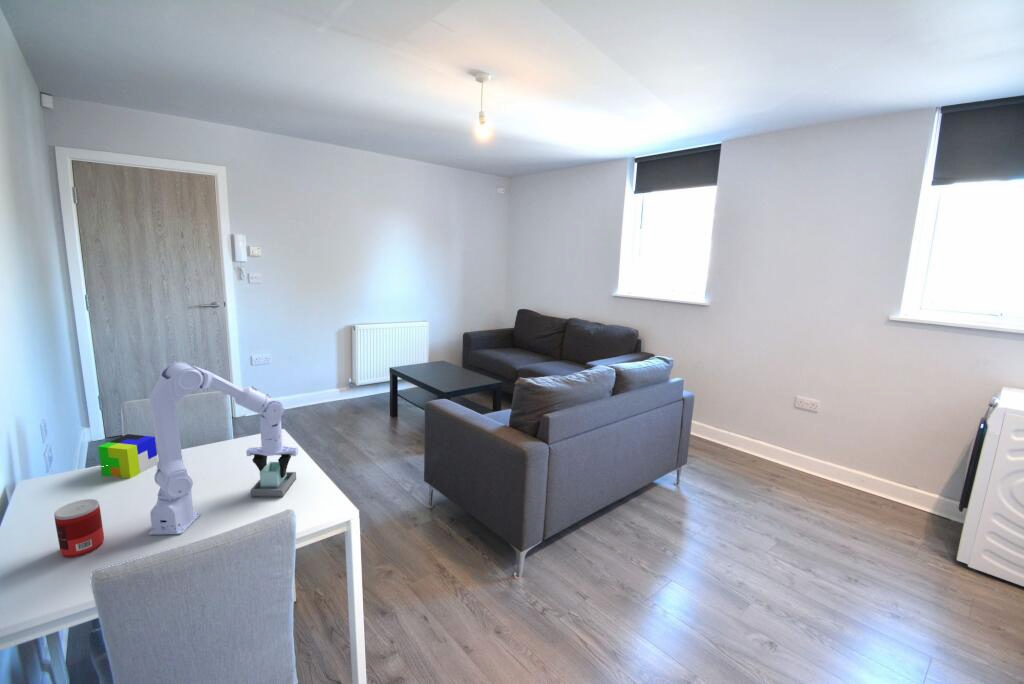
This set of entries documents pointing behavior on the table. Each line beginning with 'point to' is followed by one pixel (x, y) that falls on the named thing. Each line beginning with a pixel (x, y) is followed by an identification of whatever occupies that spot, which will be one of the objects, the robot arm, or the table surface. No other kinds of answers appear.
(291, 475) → the gray tray
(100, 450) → the puzzle toy
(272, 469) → the small crate
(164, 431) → the robot arm
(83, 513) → the canned food
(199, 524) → the table surface
